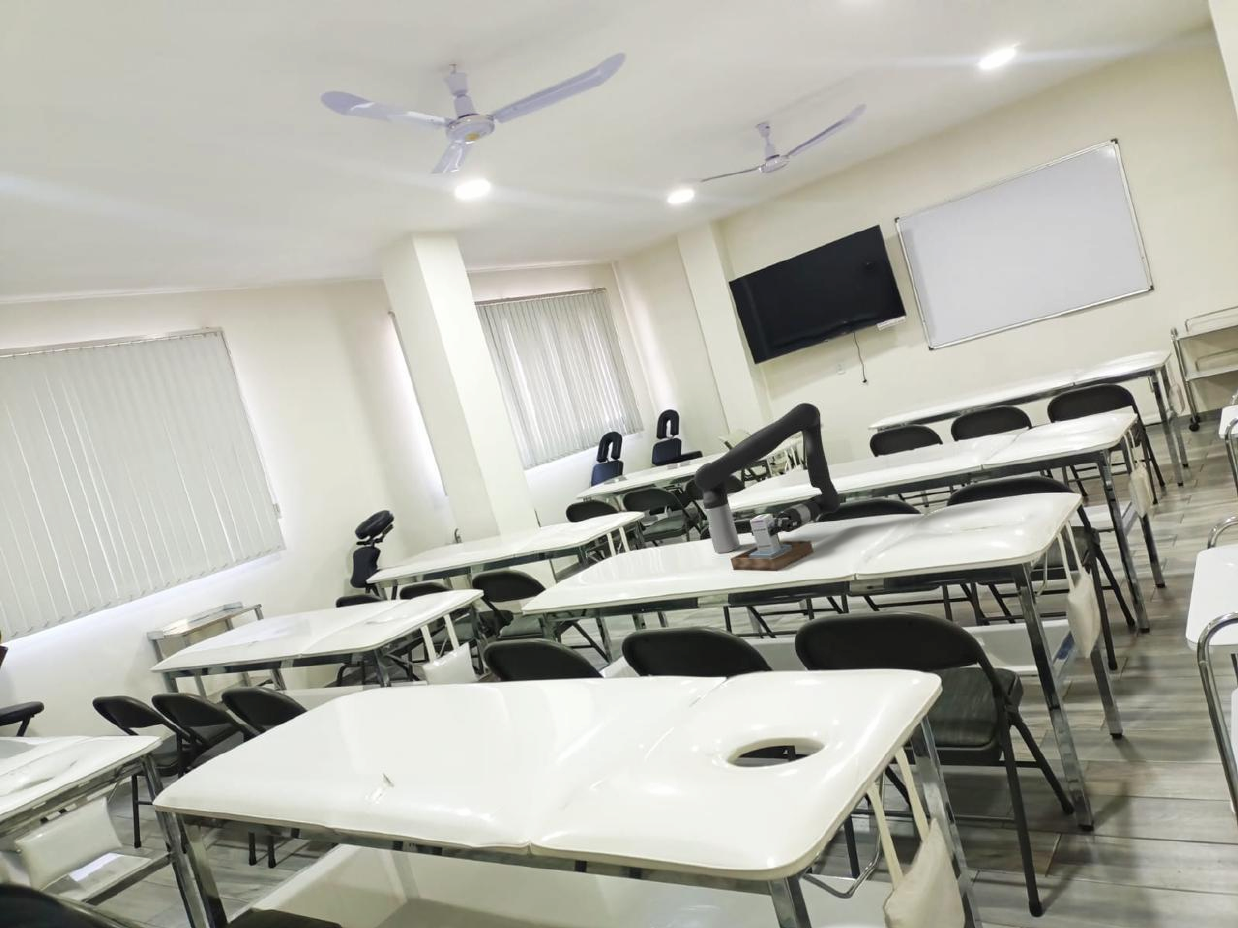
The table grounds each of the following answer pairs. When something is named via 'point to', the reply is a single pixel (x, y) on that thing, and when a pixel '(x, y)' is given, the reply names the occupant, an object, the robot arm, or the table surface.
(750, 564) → the walnut tray
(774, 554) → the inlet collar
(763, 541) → the syrup box
